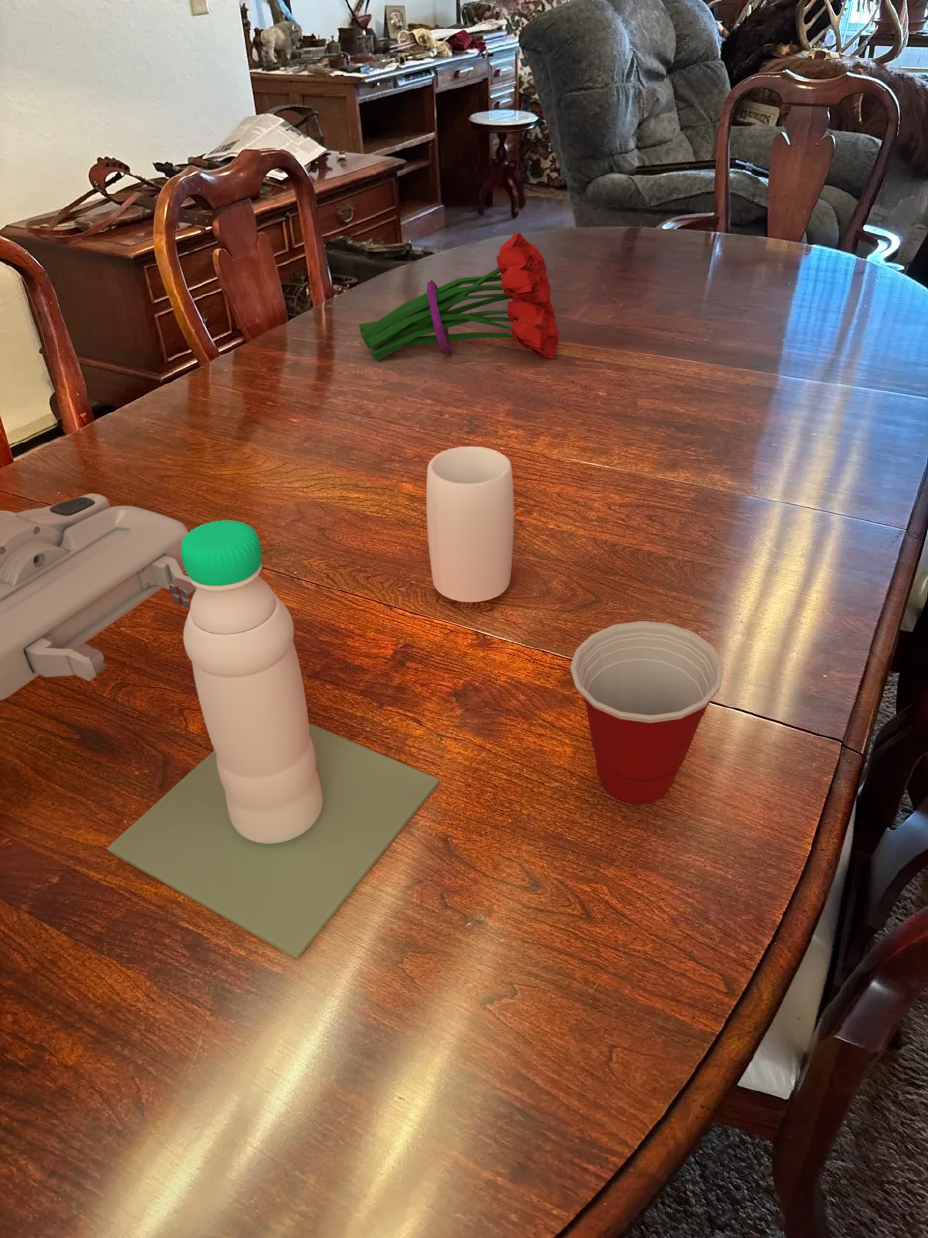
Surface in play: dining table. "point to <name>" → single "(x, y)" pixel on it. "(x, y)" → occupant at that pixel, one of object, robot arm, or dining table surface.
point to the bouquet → (430, 313)
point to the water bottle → (249, 685)
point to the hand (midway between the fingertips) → (148, 629)
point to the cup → (470, 522)
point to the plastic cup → (644, 702)
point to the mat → (280, 872)
